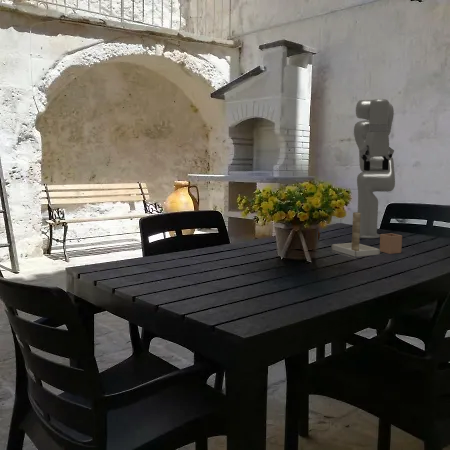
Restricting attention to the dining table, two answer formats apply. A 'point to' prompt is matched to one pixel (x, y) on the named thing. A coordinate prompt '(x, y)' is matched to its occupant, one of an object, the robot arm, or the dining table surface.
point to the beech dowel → (356, 231)
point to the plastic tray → (347, 248)
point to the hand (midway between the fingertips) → (375, 170)
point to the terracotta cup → (390, 243)
